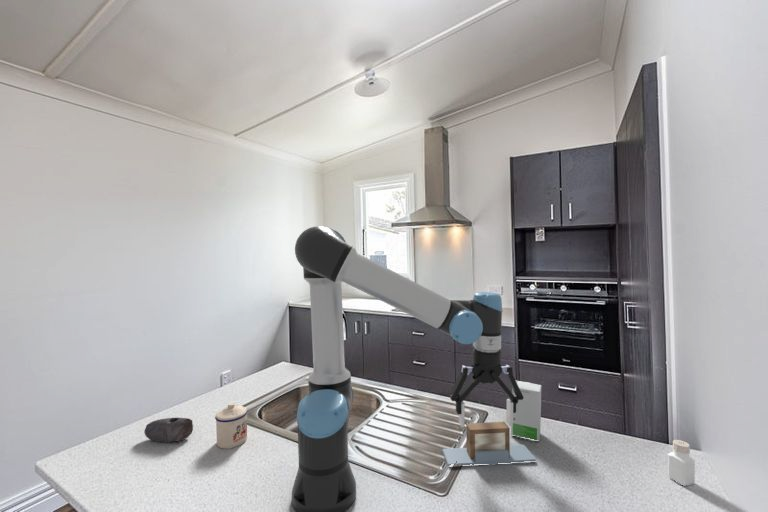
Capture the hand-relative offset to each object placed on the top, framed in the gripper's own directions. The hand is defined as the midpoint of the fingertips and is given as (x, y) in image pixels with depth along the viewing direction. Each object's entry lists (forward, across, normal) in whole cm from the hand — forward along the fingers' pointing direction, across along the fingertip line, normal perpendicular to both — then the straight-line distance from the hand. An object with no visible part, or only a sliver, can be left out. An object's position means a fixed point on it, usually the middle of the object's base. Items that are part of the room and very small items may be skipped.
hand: (485, 424), depth 98 cm
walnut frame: (+8, +1, 0) cm, 8 cm away
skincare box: (+9, +17, +10) cm, 22 cm away
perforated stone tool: (+12, -95, +18) cm, 98 cm away
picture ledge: (+9, +1, 0) cm, 9 cm away
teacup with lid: (+12, -74, +16) cm, 77 cm away
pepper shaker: (+8, +45, -14) cm, 48 cm away
